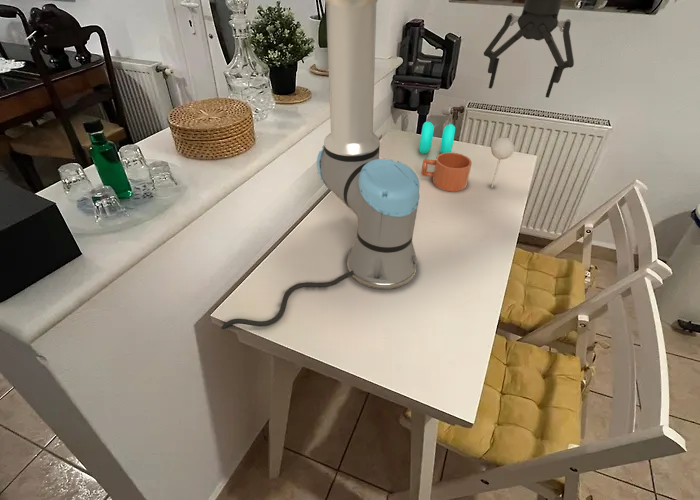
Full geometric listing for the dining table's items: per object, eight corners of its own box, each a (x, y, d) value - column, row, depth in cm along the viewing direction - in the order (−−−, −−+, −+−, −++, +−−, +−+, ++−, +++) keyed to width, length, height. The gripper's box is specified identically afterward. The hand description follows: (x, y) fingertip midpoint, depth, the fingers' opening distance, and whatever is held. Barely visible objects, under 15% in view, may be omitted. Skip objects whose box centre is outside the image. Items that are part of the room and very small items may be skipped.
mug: (467, 176, 127) (471, 155, 123) (466, 193, 120) (471, 171, 115) (422, 170, 129) (425, 149, 125) (418, 186, 122) (421, 164, 117)
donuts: (449, 163, 133) (455, 132, 127) (417, 158, 135) (421, 128, 129) (451, 148, 141) (456, 119, 134) (420, 145, 142) (424, 115, 136)
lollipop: (501, 182, 125) (515, 134, 115) (504, 193, 120) (519, 143, 111) (479, 181, 125) (491, 132, 116) (482, 191, 121) (495, 142, 111)
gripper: (608, -5, 92) (572, 94, 105) (490, -16, 99) (470, 78, 112) (609, 1, 86) (572, 104, 100) (484, -11, 94) (465, 87, 107)
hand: (518, 91), depth 106 cm, fingers open, 13 cm apart
